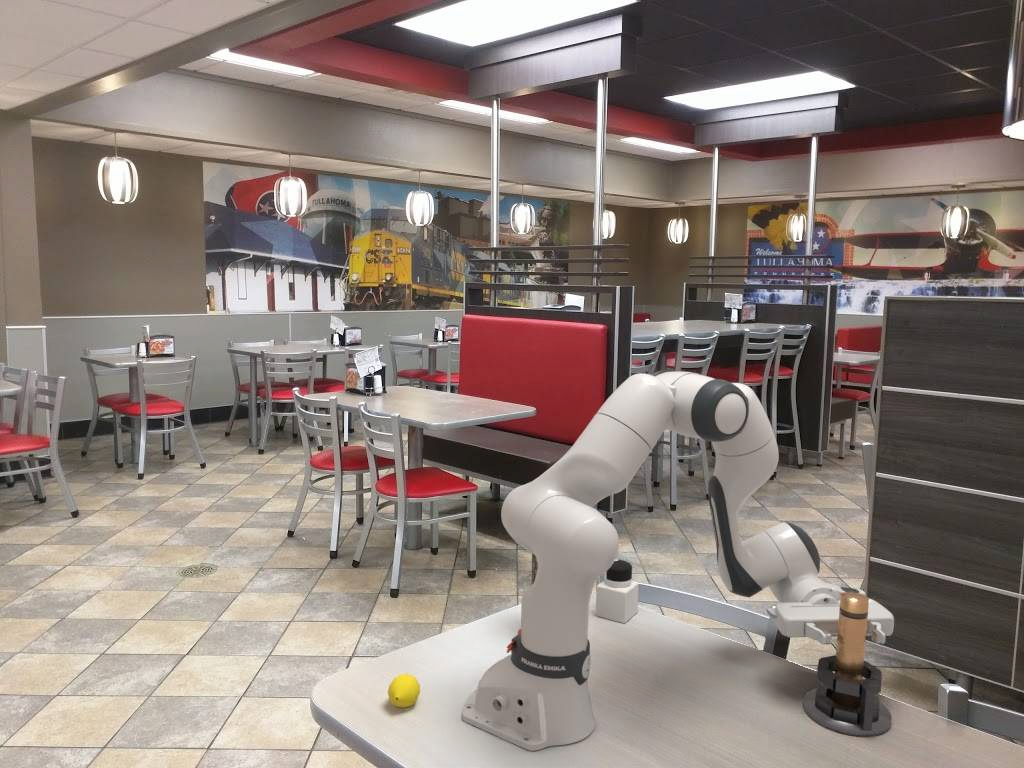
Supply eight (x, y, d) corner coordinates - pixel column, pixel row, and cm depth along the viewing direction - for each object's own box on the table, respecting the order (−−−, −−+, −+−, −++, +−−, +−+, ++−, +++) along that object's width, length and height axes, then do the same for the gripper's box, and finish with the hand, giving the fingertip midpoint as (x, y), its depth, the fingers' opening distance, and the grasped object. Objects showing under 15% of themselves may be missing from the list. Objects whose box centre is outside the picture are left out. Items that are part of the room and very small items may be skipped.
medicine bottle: (638, 612, 176) (639, 561, 174) (624, 624, 170) (626, 570, 168) (609, 605, 179) (610, 554, 178) (595, 616, 173) (596, 564, 172)
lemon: (396, 696, 140) (397, 666, 140) (425, 701, 139) (426, 670, 139) (380, 712, 133) (382, 680, 133) (410, 716, 132) (412, 684, 132)
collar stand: (798, 723, 132) (801, 678, 131) (807, 685, 145) (810, 644, 144) (890, 745, 126) (894, 698, 125) (891, 704, 139) (894, 661, 138)
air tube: (831, 710, 134) (839, 599, 132) (832, 698, 138) (841, 589, 136) (859, 717, 132) (868, 604, 130) (860, 704, 136) (869, 594, 134)
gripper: (763, 590, 145) (795, 623, 132) (870, 589, 147) (913, 621, 133) (761, 623, 146) (793, 658, 132) (867, 621, 148) (910, 656, 134)
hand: (854, 640), depth 133 cm, fingers open, 8 cm apart
